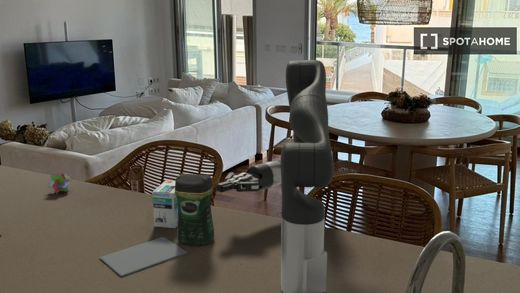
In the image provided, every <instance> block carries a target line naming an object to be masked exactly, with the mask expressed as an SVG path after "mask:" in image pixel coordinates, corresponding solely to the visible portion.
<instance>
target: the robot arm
mask: <svg viewBox="0 0 520 293" xmlns="http://www.w3.org/2000/svg"><path fill="white" fill-rule="evenodd" d="M285 86H286V93H287V94H286V95H287V99H288V100H287V102H288V106H289V124H290V128H291V129H292V133H293V135H292V137H293V138H292V139H293V142H286V143H285V144H284V145H282V148H281V153H280V159H278V160H272V161H266V162H263V163H258V164H254V165H251V166H250V167H248V169H247V171H246V172H244V171H243V172H241V173H239V174H235V173H234V172H232V171H231V172H229V173H228V174H227V176H226V177H225V179H224V180H225V181H224V182H223V181H221V182H220V183H217V184H216V191H217V192H219V193H224V192H228V191H236V192H238V193H242V192H243V193H244V192H260V191H263V190H267V189H270V188H274V187H277V186H279V185H281V213H280V214H281V215H280V216H281V225H280V226H281V227H280V228H281V229H280V231H281V232H280V290H281V292H282V293H325V292H327V267H328V266H327V265H328V264H327V263H328V252H327V251H325V250H324V247H325V246H324V245H325V218H326V217H325V215H326V209H325V205H324V203H323V202H322V201H321V200H320V199H318V198H315V197H313V196H311V195H308V194H306V193H304V192H302V191H301V190H300V189H298V188H325V187H327V186H329V185H330V183H331V182H332V179H333V176H334V170H335V169H334V167H335V166H334V157H333V151H332V146H331V139H330V134H329V110H328V109H329V108H328V104H327V102H328V101H327V96H326V91H327V88H326V87H327V72H326V68H325V64H324V63H323V62H322V61H321V60H317V59H305V60H303V59H301V60H290V61H289V62H287V63H286V67H285Z"/></svg>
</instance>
